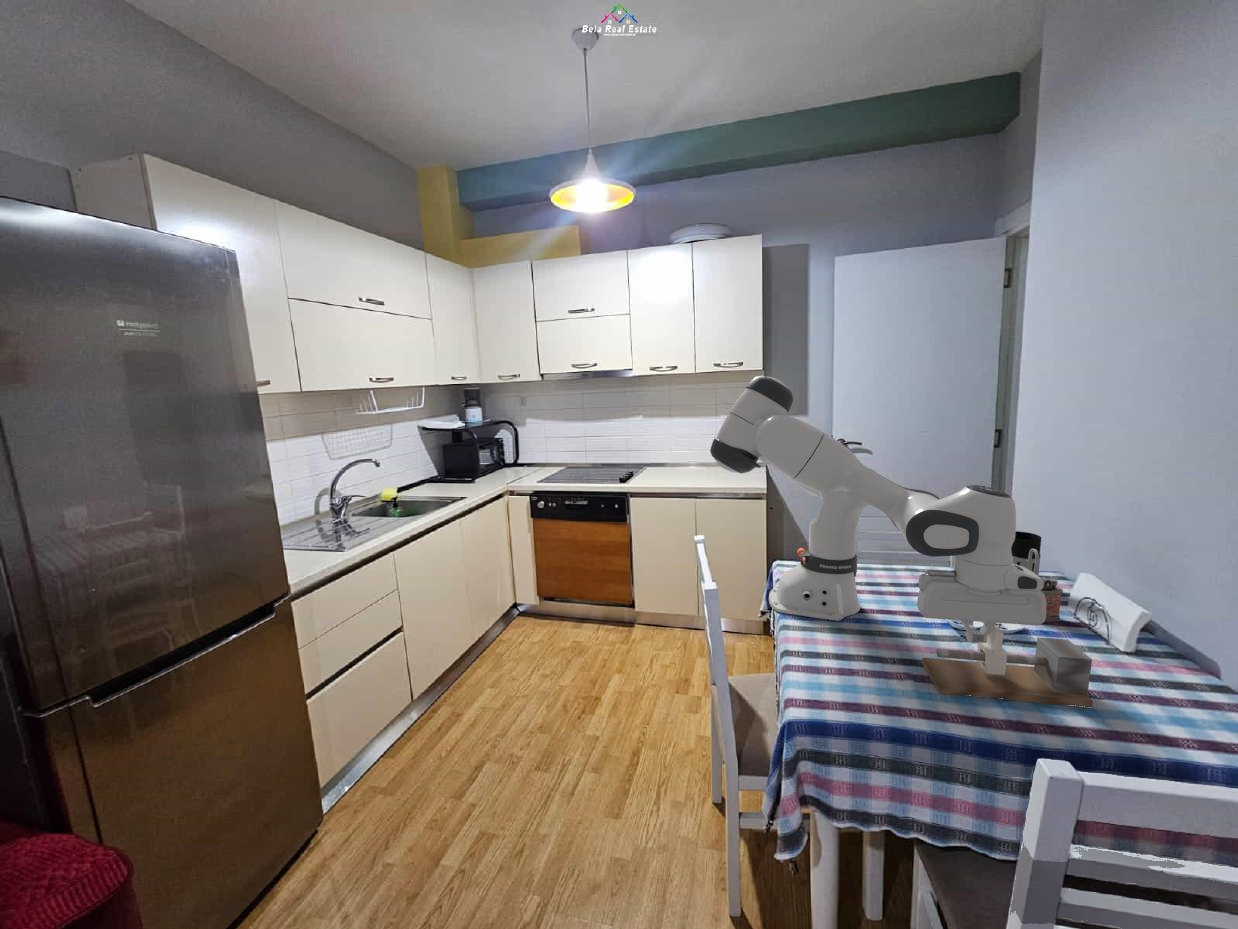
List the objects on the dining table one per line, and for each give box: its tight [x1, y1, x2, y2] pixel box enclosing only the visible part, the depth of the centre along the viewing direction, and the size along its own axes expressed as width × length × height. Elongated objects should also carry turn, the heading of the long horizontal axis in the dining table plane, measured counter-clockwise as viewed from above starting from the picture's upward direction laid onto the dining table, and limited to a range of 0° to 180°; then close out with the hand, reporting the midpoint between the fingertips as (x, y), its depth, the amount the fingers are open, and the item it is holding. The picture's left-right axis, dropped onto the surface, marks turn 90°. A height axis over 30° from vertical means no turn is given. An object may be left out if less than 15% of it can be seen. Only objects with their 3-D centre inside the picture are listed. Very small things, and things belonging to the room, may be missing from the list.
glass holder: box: [1011, 530, 1042, 576], centre depth 135 cm, size 9×14×15 cm, turn 160°
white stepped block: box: [976, 624, 1008, 675], centre depth 97 cm, size 3×4×8 cm
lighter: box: [1040, 576, 1063, 622], centre depth 122 cm, size 8×3×10 cm, turn 84°
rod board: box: [921, 637, 1094, 708], centre depth 97 cm, size 24×10×8 cm, turn 76°
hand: (976, 641), depth 97 cm, fingers closed
